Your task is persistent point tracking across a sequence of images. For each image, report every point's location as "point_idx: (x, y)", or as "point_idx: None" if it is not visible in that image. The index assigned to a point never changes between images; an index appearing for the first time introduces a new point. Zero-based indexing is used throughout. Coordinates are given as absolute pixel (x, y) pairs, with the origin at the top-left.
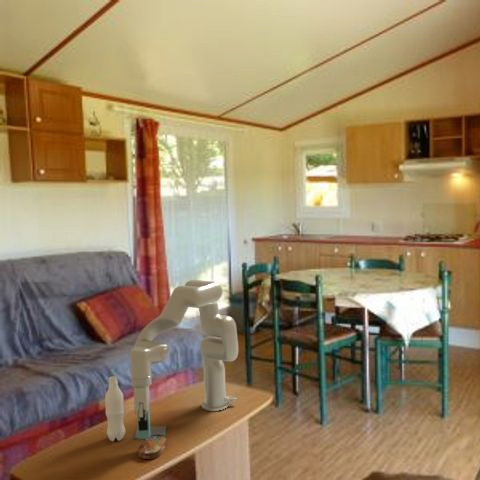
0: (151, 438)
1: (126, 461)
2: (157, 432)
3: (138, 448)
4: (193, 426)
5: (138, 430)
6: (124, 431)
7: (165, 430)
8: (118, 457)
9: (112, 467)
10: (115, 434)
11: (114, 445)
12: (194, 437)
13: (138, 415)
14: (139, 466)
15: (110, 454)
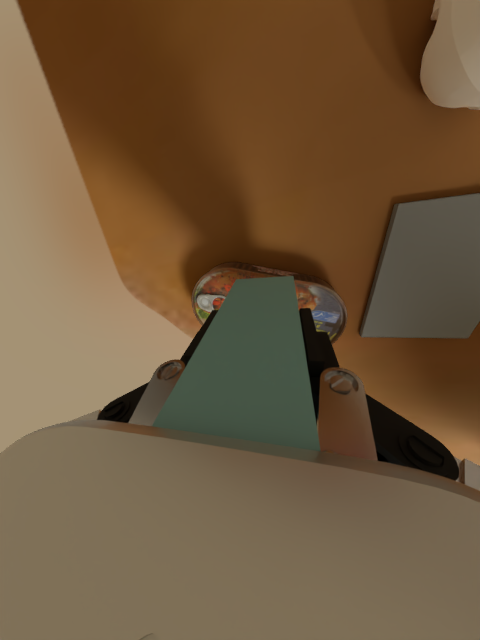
0: (319, 305)
1: (184, 219)
2: (411, 309)
3: (226, 267)
4: (409, 401)
5: (224, 301)
6: (478, 104)
7: (415, 336)
8: (211, 164)
9: (131, 164)
10: (446, 6)
11: (358, 65)
12: None
13: (178, 392)
14: (163, 275)
15: (240, 90)
